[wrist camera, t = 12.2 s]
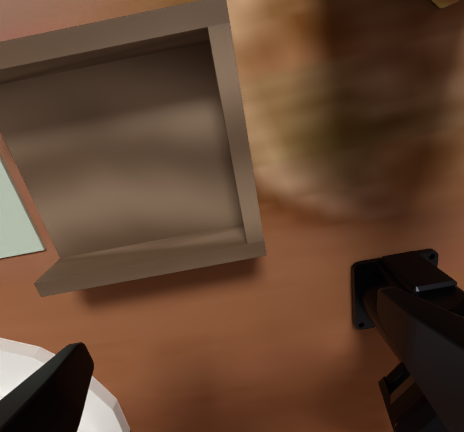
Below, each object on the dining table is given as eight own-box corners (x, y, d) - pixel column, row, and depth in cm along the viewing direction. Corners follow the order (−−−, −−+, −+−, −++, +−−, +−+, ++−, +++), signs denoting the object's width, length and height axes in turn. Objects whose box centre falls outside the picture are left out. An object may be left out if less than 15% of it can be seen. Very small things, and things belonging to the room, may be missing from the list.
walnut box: (257, 228, 20) (266, 255, 17) (72, 263, 21) (41, 296, 17) (223, 22, 16) (225, -5, 12) (-15, 70, 16) (-85, 59, 12)
